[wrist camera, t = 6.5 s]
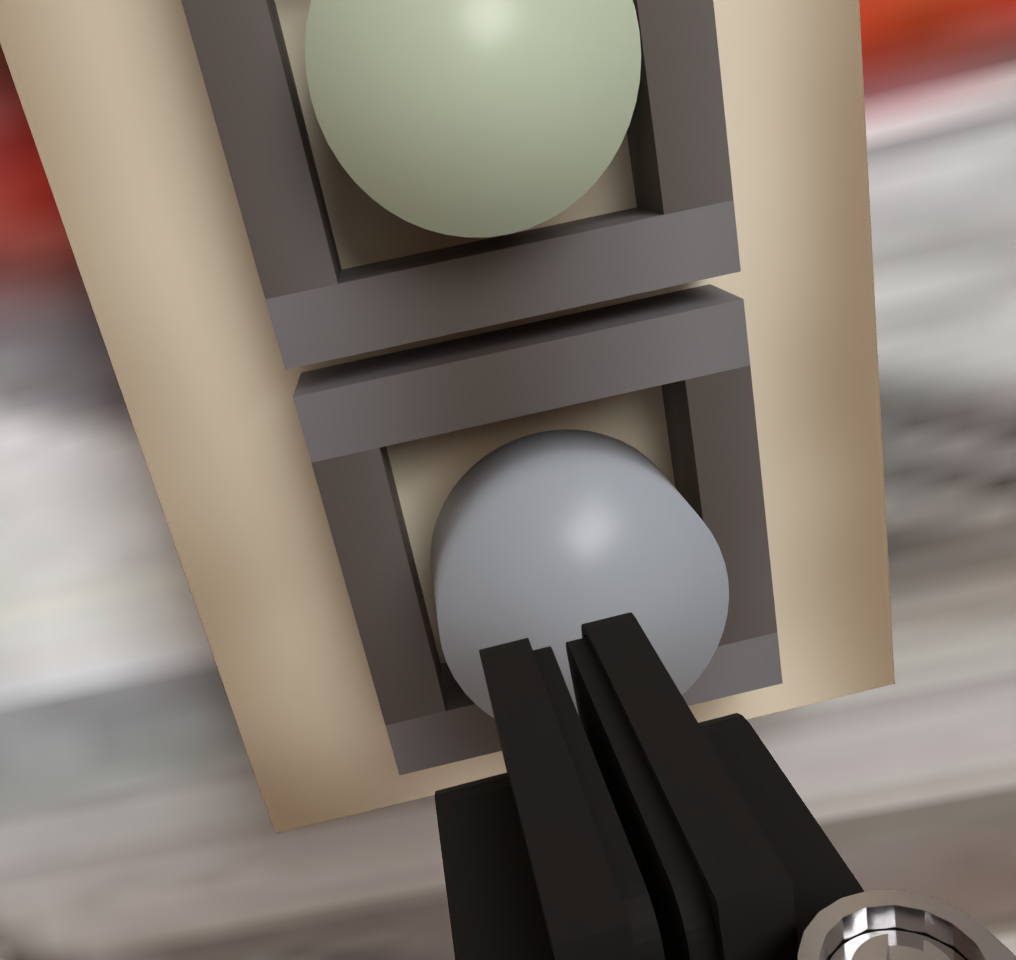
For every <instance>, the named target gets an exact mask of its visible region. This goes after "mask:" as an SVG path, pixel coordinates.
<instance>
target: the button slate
mask: <svg viewBox="0 0 1016 960" xmlns="http://www.w3.org/2000/svg"><path fill="white" fill-rule="evenodd" d="M431 571H432V579H433V588H434V596H435V604H436V612H437V620H438V628H439V635H440V641H441V647H442V650H443V653H444V656H445V659H446V662H447V665H448V667H449V669H450V671H451V672H452V674H453V676H454V678H455V680H456V681H457V683H458V684H459V686H460V687H461V688H462V690H463V691H464V693H465V694H466V695H467V696H468V697H469V698H470V699H471V700H472V701H473V702H474V703H475V704H476V705H477V706H478V707H480V708H481V709H482V710H483V711H485V712H486V713H487V714H488V715H490V716H491V717H493V718H494V714H493V710H492V706H491V701H490V697H489V693H488V688H487V684H486V680H485V675H484V671H483V667H482V662H481V658H480V654H479V650H480V649H484V648H488V647H492V646H496V645H500V644H504V643H508V642H512V641H516V640H520V639H524V638H528V639H529V641H530V644H531V647H532V649H533V650H536V649H540V648H544V647H548V646H551V648H552V650H553V652H554V655H555V657H556V660H557V662H558V665H559V667H560V670H561V672H562V675H563V677H564V680H565V683H566V685H567V688H568V690H569V693H570V695H571V698H572V700H573V703H574V705H575V708H576V710H577V713H578V709H577V704H576V699H575V693H574V688H573V683H572V678H571V673H570V667H569V662H568V657H567V651H566V642H568V641H573V640H577V639H581V638H582V632H581V626H582V624H585V623H589V622H593V621H597V620H601V619H605V618H609V617H613V616H617V615H621V614H625V613H629V612H631V613H633V615H634V616H635V618H636V619H637V621H638V623H639V624H640V626H641V628H642V629H643V631H644V633H645V634H646V636H647V638H648V639H649V641H650V643H651V644H652V646H653V648H654V649H655V651H656V653H657V654H658V656H659V658H660V660H661V661H662V663H663V665H664V666H665V668H666V670H667V671H668V673H669V675H670V676H671V678H672V680H673V681H674V683H675V685H676V686H677V688H678V690H679V691H680V693H681V695H683V694H684V693H685V692H686V691H687V690H688V689H689V688H690V687H691V686H692V685H693V684H694V683H695V681H696V680H697V679H698V678H699V677H700V675H701V674H702V672H703V671H704V670H705V668H706V667H707V665H708V664H709V662H710V660H711V659H712V657H713V655H714V653H715V651H716V649H717V647H718V645H719V642H720V639H721V637H722V634H723V631H724V627H725V623H726V619H727V614H728V604H729V583H728V576H727V571H726V565H725V562H724V559H723V556H722V553H721V550H720V548H719V546H718V544H717V542H716V540H715V538H714V536H713V534H712V533H711V531H710V530H709V528H708V527H707V526H706V524H705V523H704V522H703V520H702V519H701V518H700V517H699V515H698V514H697V513H696V512H695V511H694V510H693V508H692V507H691V506H690V505H689V504H688V502H687V501H686V500H685V499H684V498H683V496H682V495H681V494H680V493H679V492H678V491H677V489H676V488H675V487H674V486H673V485H672V483H671V482H670V481H669V480H668V479H667V478H666V476H665V475H664V474H663V473H662V472H661V470H660V469H659V468H658V467H657V466H656V465H655V464H654V463H653V462H652V461H651V460H650V459H649V458H648V457H646V456H645V455H643V454H642V453H641V452H639V451H638V450H637V449H635V448H634V447H632V446H630V445H628V444H626V443H624V442H623V441H621V440H618V439H615V438H613V437H610V436H607V435H604V434H600V433H596V432H591V431H584V430H574V429H566V430H550V431H544V432H538V433H534V434H531V435H527V436H524V437H520V438H518V439H516V440H513V441H511V442H509V443H506V444H504V445H502V446H500V447H499V448H497V449H495V450H494V451H492V452H490V453H489V454H487V455H486V456H485V457H483V458H482V459H481V460H479V461H478V462H477V463H475V464H474V465H473V466H472V467H471V468H470V469H469V470H468V471H467V472H466V473H465V474H464V475H463V476H462V477H461V479H460V480H459V481H458V483H457V484H456V485H455V486H454V488H453V489H452V490H451V492H450V494H449V495H448V497H447V499H446V500H445V502H444V504H443V506H442V508H441V511H440V513H439V516H438V518H437V521H436V524H435V528H434V532H433V536H432V544H431ZM578 715H579V714H578Z"/></svg>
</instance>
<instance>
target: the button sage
mask: <svg viewBox="0 0 1016 960" xmlns="http://www.w3.org/2000/svg"><path fill="white" fill-rule="evenodd" d="M305 62H306V76H307V81H308V87H309V92H310V98H311V101H312V104H313V107H314V111H315V114H316V117H317V120H318V123H319V125H320V127H321V129H322V132H323V134H324V136H325V138H326V141H327V143H328V144H329V146H330V148H331V149H332V151H333V153H334V154H335V156H336V158H337V159H338V161H339V163H340V164H341V165H342V167H343V168H344V169H345V170H346V172H347V173H348V174H349V175H350V177H351V178H352V179H353V181H354V182H355V183H356V184H357V185H358V186H359V187H360V188H361V189H362V190H364V191H365V192H366V193H367V194H368V195H369V196H370V197H371V198H372V199H373V200H375V201H376V202H377V203H379V204H380V205H381V206H383V207H384V208H385V209H386V210H388V211H390V212H391V213H393V214H395V215H397V216H398V217H400V218H402V219H403V220H405V221H407V222H410V223H412V224H414V225H417V226H419V227H422V228H424V229H427V230H430V231H434V232H438V233H441V234H445V235H452V236H459V237H494V236H501V235H508V234H512V233H515V232H519V231H522V230H526V229H529V228H531V227H533V226H536V225H538V224H540V223H543V222H545V221H547V220H549V219H551V218H552V217H554V216H556V215H557V214H559V213H561V212H562V211H564V210H565V209H567V208H568V207H569V206H570V205H572V204H573V203H574V202H576V201H577V200H578V199H579V198H581V197H582V196H583V195H584V194H585V193H586V192H587V191H588V190H589V189H590V188H591V187H592V186H593V184H594V183H595V182H596V181H597V180H598V179H599V178H600V176H601V175H602V174H603V172H604V171H605V170H606V168H607V167H608V166H609V164H610V163H611V161H612V159H613V158H614V156H615V154H616V152H617V151H618V149H619V147H620V145H621V143H622V141H623V139H624V136H625V134H626V132H627V129H628V127H629V125H630V122H631V118H632V115H633V111H634V108H635V104H636V100H637V94H638V88H639V83H640V70H641V45H640V31H639V26H638V21H637V15H636V10H635V6H634V3H633V0H311V3H310V8H309V14H308V19H307V24H306V38H305Z"/></svg>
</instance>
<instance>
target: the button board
mask: <svg viewBox="0 0 1016 960" xmlns="http://www.w3.org/2000/svg"><path fill="white" fill-rule="evenodd" d="M310 3H311V0H0V44H1V47H2V49H3V52H4V55H5V58H6V61H7V64H8V67H9V70H10V72H11V75H12V78H13V81H14V84H15V87H16V90H17V93H18V95H19V98H20V101H21V104H22V107H23V110H24V113H25V116H26V118H27V121H28V124H29V127H30V130H31V133H32V136H33V139H34V141H35V144H36V147H37V150H38V153H39V156H40V159H41V162H42V164H43V167H44V170H45V173H46V176H47V179H48V182H49V185H50V187H51V190H52V193H53V196H54V199H55V202H56V205H57V208H58V210H59V213H60V216H61V219H62V222H63V225H64V228H65V231H66V233H67V236H68V239H69V242H70V245H71V248H72V251H73V254H74V256H75V259H76V262H77V265H78V268H79V271H80V274H81V277H82V279H83V282H84V285H85V288H86V291H87V294H88V297H89V300H90V302H91V305H92V308H93V311H94V314H95V317H96V320H97V323H98V325H99V328H100V331H101V334H102V337H103V340H104V343H105V346H106V348H107V351H108V354H109V357H110V360H111V363H112V366H113V369H114V371H115V374H116V377H117V380H118V383H119V386H120V389H121V392H122V394H123V397H124V400H125V403H126V406H127V409H128V412H129V415H130V417H131V420H132V423H133V426H134V429H135V432H136V435H137V438H138V440H139V443H140V446H141V449H142V452H143V455H144V458H145V461H146V463H147V466H148V469H149V472H150V475H151V478H152V481H153V484H154V486H155V489H156V492H157V495H158V498H159V501H160V504H161V507H162V509H163V512H164V515H165V518H166V521H167V524H168V527H169V530H170V532H171V535H172V538H173V541H174V544H175V547H176V550H177V553H178V555H179V558H180V561H181V564H182V567H183V570H184V573H185V575H186V578H187V581H188V584H189V587H190V590H191V593H192V596H193V598H194V601H195V604H196V607H197V610H198V613H199V616H200V619H201V621H202V624H203V627H204V630H205V633H206V636H207V639H208V642H209V644H210V647H211V650H212V653H213V656H214V659H215V662H216V665H217V667H218V670H219V673H220V676H221V679H222V682H223V685H224V688H225V690H226V693H227V696H228V699H229V702H230V705H231V708H232V711H233V713H234V716H235V719H236V722H237V725H238V728H239V731H240V734H241V736H242V739H243V742H244V745H245V748H246V751H247V754H248V757H249V759H250V762H251V765H252V768H253V771H254V774H255V777H256V780H257V782H258V785H259V788H260V791H261V794H262V797H263V800H264V803H265V805H266V808H267V811H268V814H269V817H270V820H271V823H272V826H273V828H274V831H275V834H276V833H280V832H284V831H288V830H292V829H296V828H301V827H305V826H309V825H313V824H317V823H321V822H325V821H329V820H334V819H338V818H342V817H346V816H350V815H354V814H358V813H362V812H367V811H371V810H375V809H379V808H383V807H387V806H391V805H396V804H400V803H404V802H408V801H412V800H416V799H420V798H424V797H429V796H433V795H435V791H437V790H441V789H445V788H449V787H453V786H457V785H460V784H464V783H468V782H472V781H476V780H480V779H484V778H487V777H491V776H495V775H499V774H503V773H507V771H506V766H505V762H504V758H503V753H502V749H501V745H500V740H499V736H498V732H497V727H496V723H495V719H494V718H493V717H491V716H490V715H488V714H487V713H486V712H485V711H483V710H482V709H481V708H480V707H478V706H477V705H476V704H475V703H474V702H473V701H472V700H471V699H470V698H469V697H468V696H467V695H466V694H465V693H464V691H463V690H462V688H461V687H460V686H459V684H458V683H457V681H456V680H455V678H454V676H453V674H452V672H451V671H450V669H449V667H448V665H447V662H446V659H445V656H444V653H443V650H442V647H441V641H440V635H439V628H438V620H437V612H436V604H435V596H434V588H433V579H432V571H431V544H432V536H433V532H434V528H435V524H436V521H437V518H438V516H439V513H440V511H441V508H442V506H443V504H444V502H445V500H446V499H447V497H448V495H449V494H450V492H451V490H452V489H453V488H454V486H455V485H456V484H457V483H458V481H459V480H460V479H461V477H462V476H463V475H464V474H465V473H466V472H467V471H468V470H469V469H470V468H471V467H472V466H473V465H474V464H475V463H477V462H478V461H479V460H481V459H482V458H483V457H485V456H486V455H487V454H489V453H490V452H492V451H494V450H495V449H497V448H499V447H500V446H502V445H504V444H506V443H509V442H511V441H513V440H516V439H518V438H520V437H524V436H527V435H531V434H534V433H538V432H544V431H550V430H566V429H574V430H584V431H591V432H596V433H600V434H604V435H607V436H610V437H613V438H615V439H618V440H621V441H623V442H624V443H626V444H628V445H630V446H632V447H634V448H635V449H637V450H638V451H639V452H641V453H642V454H643V455H645V456H646V457H648V458H649V459H650V460H651V461H652V462H653V463H654V464H655V465H656V466H657V467H658V468H659V469H660V470H661V472H662V473H663V474H664V475H665V476H666V478H667V479H668V480H669V481H670V482H671V483H672V485H673V486H674V487H675V488H676V489H677V491H678V492H679V493H680V494H681V495H682V496H683V498H684V499H685V500H686V501H687V502H688V504H689V505H690V506H691V507H692V508H693V510H694V511H695V512H696V513H697V514H698V515H699V517H700V518H701V519H702V520H703V522H704V523H705V524H706V526H707V527H708V528H709V530H710V531H711V533H712V534H713V536H714V538H715V540H716V542H717V544H718V546H719V548H720V550H721V553H722V556H723V559H724V562H725V565H726V571H727V576H728V583H729V604H728V614H727V619H726V623H725V627H724V631H723V634H722V637H721V639H720V642H719V645H718V647H717V649H716V651H715V653H714V655H713V657H712V659H711V660H710V662H709V664H708V665H707V667H706V668H705V670H704V671H703V672H702V674H701V675H700V677H699V678H698V679H697V680H696V681H695V683H694V684H693V685H692V686H691V687H690V688H689V689H688V690H687V691H686V692H685V693H684V694H683V695H682V696H683V698H684V700H685V701H686V703H687V705H688V707H689V708H690V710H691V712H692V713H693V715H694V717H695V718H696V720H697V722H698V723H700V722H704V721H707V720H711V719H715V718H719V717H723V716H727V715H731V714H734V713H738V714H741V715H743V716H744V718H745V719H746V720H747V719H751V718H755V717H759V716H763V715H767V714H771V713H775V712H780V711H784V710H788V709H792V708H796V707H800V706H804V705H809V704H813V703H817V702H821V701H825V700H829V699H833V698H837V697H842V696H846V695H850V694H854V693H858V692H862V691H866V690H870V689H875V688H879V687H883V686H887V685H891V684H895V680H894V661H893V642H892V623H891V603H890V584H889V565H888V546H887V527H886V507H885V488H884V469H883V450H882V431H881V412H880V392H879V373H878V354H877V335H876V316H875V297H874V277H873V258H872V239H871V220H870V201H869V182H868V162H867V143H866V124H865V105H864V86H863V66H862V47H861V28H860V9H859V0H633V3H634V6H635V10H636V15H637V21H638V26H639V31H640V45H641V70H640V83H639V88H638V94H637V100H636V104H635V108H634V111H633V115H632V118H631V122H630V125H629V127H628V129H627V132H626V134H625V136H624V139H623V141H622V143H621V145H620V147H619V149H618V151H617V152H616V154H615V156H614V158H613V159H612V161H611V163H610V164H609V166H608V167H607V168H606V170H605V171H604V172H603V174H602V175H601V176H600V178H599V179H598V180H597V181H596V182H595V183H594V184H593V186H592V187H591V188H590V189H589V190H588V191H587V192H586V193H585V194H584V195H583V196H582V197H581V198H579V199H578V200H577V201H576V202H574V203H573V204H572V205H570V206H569V207H568V208H567V209H565V210H564V211H562V212H561V213H559V214H557V215H556V216H554V217H552V218H551V219H549V220H547V221H545V222H543V223H540V224H538V225H536V226H533V227H531V228H529V229H526V230H522V231H519V232H515V233H512V234H508V235H501V236H494V237H459V236H452V235H445V234H441V233H438V232H434V231H430V230H427V229H424V228H422V227H419V226H417V225H414V224H412V223H410V222H407V221H405V220H403V219H402V218H400V217H398V216H397V215H395V214H393V213H391V212H390V211H388V210H386V209H385V208H384V207H383V206H381V205H380V204H379V203H377V202H376V201H375V200H373V199H372V198H371V197H370V196H369V195H368V194H367V193H366V192H365V191H364V190H362V189H361V188H360V187H359V186H358V185H357V184H356V183H355V182H354V181H353V179H352V178H351V177H350V175H349V174H348V173H347V172H346V170H345V169H344V168H343V167H342V165H341V164H340V163H339V161H338V159H337V158H336V156H335V154H334V153H333V151H332V149H331V148H330V146H329V144H328V143H327V141H326V138H325V136H324V134H323V132H322V129H321V127H320V125H319V123H318V120H317V117H316V114H315V111H314V107H313V104H312V101H311V98H310V92H309V87H308V81H307V76H306V62H305V38H306V24H307V19H308V14H309V8H310Z"/></svg>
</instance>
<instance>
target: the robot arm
mask: <svg viewBox="0 0 1016 960" xmlns="http://www.w3.org/2000/svg"><path fill="white" fill-rule="evenodd" d="M581 632H582V638H581V639H577V640H573V641H568V642H566V651H567V657H568V662H569V667H570V673H571V678H572V683H573V688H574V693H575V699H576V704H577V709H578V713H577V710H576V708H575V705H574V703H573V700H572V698H571V695H570V693H569V690H568V688H567V685H566V683H565V680H564V677H563V675H562V672H561V670H560V667H559V665H558V662H557V660H556V657H555V655H554V652H553V650H552V648H551V646H548V647H544V648H540V649H536V650H533V649H532V647H531V644H530V641H529V639H528V638H524V639H520V640H516V641H512V642H508V643H504V644H500V645H496V646H492V647H488V648H484V649H480V650H479V654H480V658H481V662H482V667H483V671H484V675H485V680H486V684H487V688H488V693H489V697H490V701H491V706H492V710H493V714H494V719H495V723H496V727H497V732H498V736H499V740H500V745H501V749H502V753H503V758H504V762H505V766H506V771H507V773H503V774H499V775H495V776H491V777H487V778H484V779H480V780H476V781H472V782H468V783H464V784H460V785H457V786H453V787H449V788H445V789H441V790H437V791H435V803H436V811H437V819H438V827H439V835H440V843H441V851H442V859H443V866H444V874H445V882H446V890H447V898H448V906H449V914H450V921H451V929H452V937H453V945H454V953H455V960H1016V956H1015V955H1014V954H1013V953H1012V952H1011V951H1010V950H1009V949H1008V948H1007V947H1005V946H1004V945H1003V944H1002V943H1001V942H1000V941H999V940H998V939H997V938H996V937H995V936H994V935H993V934H992V933H991V932H990V931H989V930H988V929H986V928H985V927H984V926H982V925H981V924H980V923H978V922H977V921H976V920H974V919H973V918H972V917H970V916H969V915H968V914H966V913H965V912H964V911H962V910H960V909H958V908H956V907H953V906H951V905H949V904H947V903H944V902H942V901H940V900H938V899H935V898H933V897H930V896H926V895H921V894H916V893H911V892H906V891H902V890H872V891H865V892H864V890H863V889H862V887H861V886H860V884H859V883H858V881H857V880H856V878H855V877H854V875H853V874H852V873H851V871H850V870H849V868H848V867H847V865H846V864H845V862H844V861H843V859H842V858H841V856H840V855H839V854H838V852H837V851H836V849H835V848H834V846H833V845H832V843H831V842H830V840H829V839H828V837H827V836H826V834H825V833H824V832H823V830H822V829H821V827H820V826H819V824H818V823H817V821H816V820H815V818H814V817H813V815H812V814H811V813H810V811H809V810H808V808H807V807H806V805H805V804H804V802H803V801H802V799H801V798H800V796H799V795H798V794H797V792H796V791H795V789H794V788H793V786H792V785H791V783H790V782H789V780H788V779H787V777H786V776H785V774H784V773H783V772H782V770H781V769H780V767H779V766H778V764H777V763H776V761H775V760H774V758H773V757H772V755H771V754H770V753H769V751H768V750H767V748H766V747H765V745H764V744H763V742H762V741H761V739H760V738H759V736H758V735H757V733H756V732H755V731H754V729H753V728H752V726H751V725H750V723H749V722H748V721H747V720H746V719H745V718H744V716H743V715H741V714H738V713H734V714H731V715H727V716H723V717H719V718H715V719H711V720H707V721H704V722H700V723H698V722H697V720H696V718H695V717H694V715H693V713H692V712H691V710H690V708H689V707H688V705H687V703H686V701H685V700H684V698H683V696H682V695H681V693H680V691H679V690H678V688H677V686H676V685H675V683H674V681H673V680H672V678H671V676H670V675H669V673H668V671H667V670H666V668H665V666H664V665H663V663H662V661H661V660H660V658H659V656H658V654H657V653H656V651H655V649H654V648H653V646H652V644H651V643H650V641H649V639H648V638H647V636H646V634H645V633H644V631H643V629H642V628H641V626H640V624H639V623H638V621H637V619H636V618H635V616H634V615H633V613H631V612H629V613H625V614H621V615H617V616H613V617H609V618H605V619H601V620H597V621H593V622H589V623H585V624H582V626H581ZM578 714H579V715H578Z"/></svg>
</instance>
